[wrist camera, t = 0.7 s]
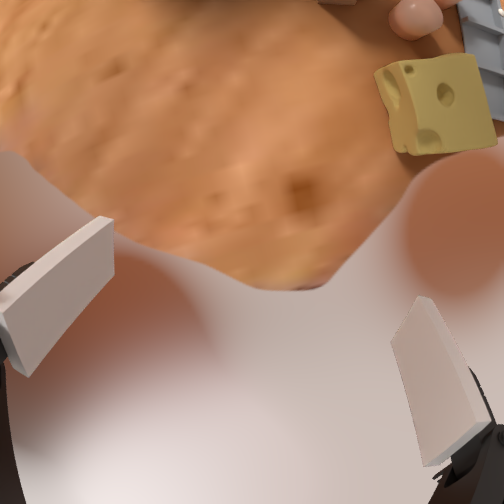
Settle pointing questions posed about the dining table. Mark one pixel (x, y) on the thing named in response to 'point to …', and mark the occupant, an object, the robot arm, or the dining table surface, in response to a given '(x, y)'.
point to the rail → (486, 47)
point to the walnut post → (337, 2)
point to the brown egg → (415, 18)
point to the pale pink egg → (446, 3)
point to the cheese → (436, 105)
